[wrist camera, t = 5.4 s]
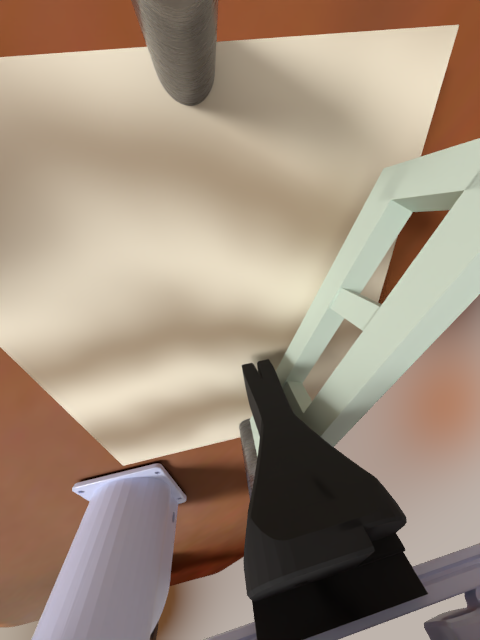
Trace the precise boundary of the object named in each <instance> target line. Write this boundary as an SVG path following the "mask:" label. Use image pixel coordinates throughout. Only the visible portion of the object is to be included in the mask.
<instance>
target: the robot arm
mask: <svg viewBox="0 0 480 640" xmlns="http://www.w3.org/2000/svg"><path fill="white" fill-rule="evenodd" d="M257 367H258V371H257V369H256V367H255V366H254V364H253V363H248V364H244V365H242V371H243V376H244V382H245V388H246V392H247V397H248V401H249V405H250V408H251V412H252V415H253V418H254V421H255V424H256V427H257V430H258V433H259V436H260V441H259V449H258V457H257V463H256V470H255V477H254V483H253V488H252V493H251V499H250V504H249V509H248V518H247V528H246V538H245V548H244V572H245V581H246V589H247V595H248V597H249V598H250V599H251V600H252V603H253V611H254V619H255V622H252V623H249V624H247V625H244V626H241V627H238V628H235V629H232V630H229V631H226V632H224V633H221V634H218V635H215V636H212V637H209V638H206V639H204V640H338V639H341V638H343V637H346V636H349V635H351V634H354V633H357V632H359V631H362V630H365V629H367V628H370V627H373V626H376V625H378V624H381V623H383V622H386V621H389V620H392V619H395V618H397V617H400V616H403V615H405V614H408V613H410V612H413V611H416V610H419V609H421V608H424V607H427V606H429V605H432V604H435V603H438V602H440V601H443V600H446V599H448V598H451V597H454V596H456V595H459V594H462V593H464V592H465V599H466V602H467V608H463V609H457V610H453V611H448V612H446V613H442V614H440V615H438V616H436V617H434V618H432V619H430V620H428V621H426V622H425V623H424V628H425V630H426V632H427V634H428V635H429V637H430V639H431V640H480V544H476V545H473V546H471V547H468V548H465V549H462V550H459V551H457V552H453V553H450V554H448V555H445V556H442V557H439V558H436V559H433V560H430V561H428V562H425V563H422V564H419V565H416V566H413V567H412V566H411V564H410V563H409V561H408V560H407V558H406V556H405V554H404V553H403V551H405V548H404V546H403V544H402V543H401V541H400V539H399V538H398V536H397V534H396V532H397V531H398V530H399V529H401V528H402V527H403V526H404V525H405V524H406V516H405V515H404V513H403V512H402V510H401V509H400V507H399V506H398V504H397V503H396V501H395V500H394V499H393V498H392V496H391V495H390V494H389V493H388V491H387V490H386V489H385V488H384V486H383V485H382V484H381V483H380V482H379V481H378V479H377V478H375V477H374V476H373V475H371V474H370V473H368V472H367V471H365V470H364V469H362V468H361V467H359V466H358V465H357V464H355V463H354V462H353V461H351V460H350V459H349V458H347V457H346V456H344V455H343V454H342V453H341V452H339V451H338V450H337V449H335V448H334V447H333V446H331V445H330V444H329V443H328V442H326V441H325V440H324V439H323V438H321V437H320V436H319V435H318V434H317V433H315V432H314V431H313V430H312V429H311V428H309V427H308V426H307V425H306V424H305V423H304V422H303V421H302V420H300V419H299V418H298V417H297V416H296V415H295V414H294V413H293V411H292V409H291V407H290V405H289V403H288V401H287V399H286V396H285V394H284V391H283V389H282V386H281V383H280V381H279V378H278V376H277V373H276V371H275V369H274V367H273V365H272V363H271V362H270V360H269V359H266V360H262V361H258V363H257ZM72 491H74V492H75V493H77V494H78V495H80V496H82V497H83V498H85V499H87V500H88V501H90V502H89V505H88V507H87V510H86V512H85V514H84V517H83V519H82V521H81V524H80V526H79V528H78V531H77V533H76V536H75V538H74V540H73V543H72V545H71V547H70V550H69V552H68V554H67V557H66V559H65V561H64V564H63V566H62V569H61V571H60V573H59V576H58V578H57V580H56V583H55V585H54V587H53V590H52V592H51V594H50V597H49V599H48V602H47V604H46V606H45V609H44V611H43V613H42V616H41V618H40V620H39V623H38V625H37V628H36V630H35V632H34V635H33V637H32V639H31V640H150V635H151V633H152V632H153V630H154V628H155V626H156V624H157V622H158V620H159V618H160V616H161V613H162V610H163V608H164V605H165V602H166V599H167V595H168V590H169V584H170V576H171V566H172V557H173V548H174V538H175V529H176V519H177V510H178V504H180V503H184V502H185V501H186V498H187V497H186V495H185V494H184V493H183V491H182V490H181V489H180V487H179V486H178V485H177V484H176V482H175V481H174V480H173V479H172V477H171V476H170V475H169V473H168V472H167V471H166V470H165V468H164V467H163V466H162V465H161V464H160V463H155V464H151V465H147V466H143V467H139V468H135V469H131V470H127V471H123V472H119V473H115V474H110V475H106V476H102V477H98V478H94V479H90V480H86V481H82V482H78V483H76V484H75V485H74V486H73V488H72Z"/></svg>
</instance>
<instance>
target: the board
mask: <svg viewBox="0 0 480 640" xmlns="http://www.w3.org/2000/svg"><path fill="white" fill-rule="evenodd" d="M458 27H459V25H449V26H435V27H421V28H407V29H393V30H379V31H365V32H350V33H336V34H322V35H308V36H294V37H280V38H266V39H252V40H238V41H224V42H216V61H215V77H214V82H213V86H212V89H211V91H210V93H209V95H208V96H207V98H206V99H205V100H204V101H203V102H201V103H200V104H197V105H194V106H187V105H183V104H181V103H179V102H177V101H176V100H174V99H173V98H172V97H171V96H170V95H169V94H168V93H167V92H166V90H165V89H164V87H163V86H162V84H161V82H160V80H159V78H158V76H157V73H156V71H155V68H154V65H153V62H152V59H151V56H150V53H149V50H148V48H147V47H139V48H125V49H111V50H97V51H83V52H69V53H54V54H40V55H26V56H12V57H0V347H1V348H2V349H3V350H4V351H5V352H6V353H7V354H8V355H9V356H10V357H11V358H12V359H13V360H14V361H15V362H16V363H17V364H19V365H20V366H21V367H22V368H23V369H24V370H25V371H26V372H27V373H28V374H29V375H30V376H31V377H32V378H33V379H34V380H35V381H36V382H37V383H38V384H39V385H40V386H41V387H42V388H43V389H44V390H45V391H46V392H47V393H49V394H50V395H51V396H52V397H53V398H54V399H55V400H56V401H57V402H58V403H59V404H60V405H61V406H62V407H63V408H64V409H65V410H66V411H67V412H68V413H69V414H70V415H71V416H72V417H73V418H74V419H75V420H76V421H77V422H79V423H80V424H81V425H82V426H83V427H84V428H85V429H86V430H87V431H88V432H89V433H90V434H91V435H92V436H93V437H94V438H95V439H96V440H97V441H98V442H99V443H100V444H101V445H102V446H103V447H104V448H105V449H106V450H107V451H108V452H110V453H111V454H112V455H113V456H114V457H115V458H116V459H117V460H118V461H119V462H120V463H121V464H122V465H123V466H124V465H128V464H132V463H136V462H140V461H144V460H148V459H152V458H156V457H161V456H165V455H169V454H173V453H177V452H181V451H185V450H189V449H193V448H198V447H202V446H206V445H210V444H214V443H218V442H222V441H226V440H230V439H234V438H239V437H240V430H239V425H240V423H241V422H242V421H244V420H246V419H250V418H251V417H252V412H251V408H250V405H249V401H248V397H247V392H246V388H245V382H244V376H243V371H242V365H244V364H248V363H253V364H254V366H255V367H256V369H257V371H258V367H257V363H258V361H262V360H266V359H269V360H270V362H271V363H272V365H273V367H274V369H275V371H276V370H277V368H278V366H279V364H280V362H281V360H282V358H283V356H284V355H285V353H286V351H287V349H288V347H289V345H290V343H291V341H292V340H293V338H294V336H295V334H296V332H297V330H298V328H299V326H300V325H301V323H302V321H303V319H304V317H305V315H306V313H307V311H308V310H309V308H310V306H311V304H312V302H313V300H314V298H315V296H316V294H317V293H318V291H319V289H320V287H321V285H322V283H323V281H324V279H325V278H326V276H327V274H328V272H329V270H330V268H331V266H332V264H333V263H334V261H335V259H336V257H337V255H338V253H339V251H340V249H341V248H342V246H343V244H344V242H345V240H346V238H347V236H348V234H349V232H350V231H351V229H352V227H353V225H354V223H355V221H356V219H357V217H358V216H359V214H360V212H361V210H362V208H363V206H364V204H365V202H366V201H367V199H368V197H369V195H370V193H371V191H372V189H373V187H374V185H375V184H376V182H377V180H378V178H379V176H380V174H381V172H382V170H383V169H384V168H386V167H389V166H393V165H396V164H399V163H402V162H405V161H409V160H412V159H415V158H418V157H421V154H422V150H423V147H424V144H425V140H426V137H427V133H428V130H429V126H430V123H431V120H432V116H433V113H434V109H435V106H436V102H437V99H438V96H439V92H440V89H441V85H442V82H443V78H444V75H445V72H446V68H447V65H448V61H449V58H450V54H451V51H452V48H453V44H454V41H455V37H456V34H457V30H458ZM396 239H397V237H396ZM396 239H395V241H394V242H393V244H392V245H391V247H390V248H389V250H388V251H387V253H386V255H385V256H384V258H383V259H382V261H381V262H380V264H379V265H378V267H377V268H376V270H375V272H374V273H373V275H372V276H371V278H370V279H369V281H368V282H367V284H366V286H365V287H364V289H363V290H362V292H361V293H360V294H361V295H363V296H365V297H367V298H369V299H371V300H373V301H376V302H378V301H379V298H380V294H381V291H382V287H383V284H384V281H385V277H386V274H387V270H388V267H389V263H390V260H391V257H392V253H393V250H394V246H395V243H396ZM362 332H363V331H362V330H361V329H359V328H358V327H356V326H355V325H354V324H352V323H351V322H349V321H348V320H346V319H345V318H344V320H343V321H342V323H341V324H340V326H339V327H338V329H337V331H336V332H335V334H334V335H333V337H332V338H331V340H330V341H329V343H328V344H327V346H326V348H325V349H324V351H323V352H322V354H321V355H320V357H319V358H318V360H317V362H316V363H315V365H314V366H313V368H312V369H311V371H310V372H309V374H308V376H307V377H306V379H305V380H304V382H303V383H302V384H303V386H304V388H305V389H306V391H307V393H308V395H309V396H310V398H311V400H312V401H313V399H314V398H315V397H316V395H317V394H318V393H319V391H320V390H321V388H322V387H323V386H324V384H325V383H326V381H327V380H328V379H329V377H330V376H331V375H332V373H333V372H334V370H335V369H336V368H337V366H338V365H339V363H340V362H341V361H342V359H343V358H344V357H345V355H346V354H347V352H348V351H349V350H350V348H351V347H352V345H353V344H354V343H355V341H356V340H357V338H358V337H359V336H360V334H361V333H362Z"/></svg>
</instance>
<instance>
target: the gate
mask: <svg viewBox="0 0 480 640" xmlns="http://www.w3.org/2000/svg"><path fill="white" fill-rule="evenodd" d="M442 210H450V211H449V212H448V214H447V215H446V216H445V218H444V219H443V221H442V222H441V223H440V225H439V226H438V228H437V229H436V230H435V232H434V233H433V234H432V236H431V237H430V239H429V240H428V241H427V243H426V244H425V246H424V247H423V248H422V250H421V251H420V253H419V254H418V255H417V257H416V258H415V259H414V261H413V262H412V264H411V265H410V266H409V268H408V269H407V271H406V272H405V273H404V275H403V276H402V277H401V279H400V280H399V282H398V283H397V284H396V286H395V287H394V289H393V290H392V291H391V293H390V294H389V296H388V297H387V298H386V300H385V301H384V302H383V304H380V303H378V302H376V301H373V300H371V299H369V298H367V297H365V296H363V295H361V294H360V293H361V292H362V290H363V289H364V287H365V286H366V284H367V282H368V281H369V279H370V278H371V276H372V275H373V273H374V272H375V270H376V268H377V267H378V265H379V264H380V262H381V261H382V259H383V258H384V256H385V255H386V253H387V251H388V250H389V248H390V247H391V245H392V244H393V242H394V241H395V239H396V237H397V236H398V234H399V233H400V231H401V230H402V228H403V227H404V225H405V223H406V222H407V220H408V219H409V217H410V216H411V214H412V213H413V212H423V211H442ZM479 294H480V138H479V139H476V140H473V141H470V142H466V143H463V144H460V145H457V146H454V147H450V148H447V149H444V150H441V151H438V152H434V153H431V154H428V155H425V156H422V157H418V158H415V159H412V160H409V161H405V162H402V163H399V164H396V165H393V166H389V167H386V168H384V169H383V170H382V172H381V174H380V176H379V178H378V180H377V182H376V184H375V185H374V187H373V189H372V191H371V193H370V195H369V197H368V199H367V201H366V202H365V204H364V206H363V208H362V210H361V212H360V214H359V216H358V217H357V219H356V221H355V223H354V225H353V227H352V229H351V231H350V232H349V234H348V236H347V238H346V240H345V242H344V244H343V246H342V248H341V249H340V251H339V253H338V255H337V257H336V259H335V261H334V263H333V264H332V266H331V268H330V270H329V272H328V274H327V276H326V278H325V279H324V281H323V283H322V285H321V287H320V289H319V291H318V293H317V294H316V296H315V298H314V300H313V302H312V304H311V306H310V308H309V310H308V311H307V313H306V315H305V317H304V319H303V321H302V323H301V325H300V326H299V328H298V330H297V332H296V334H295V336H294V338H293V340H292V341H291V343H290V345H289V347H288V349H287V351H286V353H285V355H284V356H283V358H282V360H281V362H280V364H279V366H278V368H277V370H276V373H277V376H278V378H279V381H280V383H281V386H282V389H283V391H284V394H285V396H286V399H287V401H288V403H289V405H290V407H291V409H292V411H293V413H294V414H295V415H296V416H297V417H298V418H299V419H300V420H302V421H303V422H304V423H305V424H306V425H307V426H308V427H309V428H311V429H312V430H313V431H314V432H315V433H317V434H318V435H319V436H320V437H321V438H323V439H324V440H325V441H326V442H328V443H329V444H330V445H331V446H333V447H334V446H335V445H336V444H337V443H338V442H339V440H341V439H342V438H343V437H344V436H345V434H346V433H347V432H348V431H349V430H350V429H351V428H352V427H353V426H354V425H355V424H356V423H357V422H358V421H359V420H360V419H361V418H362V417H363V416H364V415H365V413H366V412H367V411H368V410H369V409H370V408H371V407H372V406H373V405H374V404H375V403H376V402H377V401H378V400H379V399H380V398H381V397H382V395H384V394H385V393H386V391H387V390H388V389H389V388H390V387H391V386H392V385H393V384H394V383H395V382H396V381H397V380H398V379H399V378H400V377H401V376H402V375H403V374H404V373H405V371H407V370H408V368H409V367H410V366H411V365H412V364H413V363H414V362H415V361H416V360H417V359H418V358H419V357H420V356H421V355H422V354H423V353H424V352H425V351H426V350H427V349H428V348H429V347H430V345H431V344H432V343H433V342H434V341H435V340H436V339H437V338H438V337H439V336H440V335H441V334H442V333H443V332H444V331H445V330H446V329H447V328H448V327H449V325H451V323H452V322H453V321H454V320H455V319H456V318H457V317H458V316H459V315H460V314H461V313H462V312H463V311H464V310H465V309H466V308H467V307H468V306H469V305H470V304H471V303H472V301H473V300H474V299H475V298H476V297H477V296H478V295H479ZM344 318H345V319H346V320H348V321H349V322H351V323H352V324H354V325H355V326H356V327H358V328H359V329H361V330H362V331H363V332H362V333H361V334H360V336H359V337H358V338H357V340H356V341H355V343H354V344H353V345H352V347H351V348H350V350H349V351H348V352H347V354H346V355H345V357H344V358H343V359H342V361H341V362H340V363H339V365H338V366H337V368H336V369H335V370H334V372H333V373H332V375H331V376H330V377H329V379H328V380H327V381H326V383H325V384H324V386H323V387H322V388H321V390H320V391H319V393H318V394H317V395H316V397H315V398H314V399H313V401H312V400H311V398H310V396H309V395H308V393H307V391H306V389H305V388H304V386H303V384H302V383H303V382H304V380H305V379H306V377H307V376H308V374H309V372H310V371H311V369H312V368H313V366H314V365H315V363H316V362H317V360H318V358H319V357H320V355H321V354H322V352H323V351H324V349H325V348H326V346H327V344H328V343H329V341H330V340H331V338H332V337H333V335H334V334H335V332H336V331H337V329H338V327H339V326H340V324H341V323H342V321H343V320H344ZM250 424H251V429H252V434H253V439H254V443H255V448H256V453H257V457H258V449H259V441H260V436H259V433H258V430H257V427H256V424H255V421H254V418H253V415H252V417H251V418H250Z"/></svg>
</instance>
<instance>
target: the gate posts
mask: <svg viewBox="0 0 480 640" xmlns="http://www.w3.org/2000/svg"><path fill="white" fill-rule="evenodd" d="M131 1H132V4H133V7H134V10H135V13H136V16H137V19H138V21H139V24H140V27H141V30H142V33H143V36H144V39H145V42H146V45H147V48H148V50H149V53H150V56H151V59H152V62H153V65H154V68H155V71H156V73H157V76H158V78H159V80H160V82H161V84H162V86H163V87H164V89H165V90H166V92H167V93H168V94H169V95H170V96H171V97H172V98H173V99H174V100H176V101H177V102H179V103H181V104H183V105H187V106H194V105H197V104H200V103H201V102H203V101H204V100H205V99H206V98H207V96H208V95H209V93H210V91H211V89H212V86H213V82H214V77H215V61H216V40H217V18H218V0H131ZM239 430H240V437H241V444H242V450H243V457H244V463H245V470H246V477H247V483H248V490H249V496H250V499H251V493H252V488H253V483H254V477H255V470H256V463H257V453H256V448H255V443H254V439H253V434H252V429H251V424H250V419H246V420H244V421H242V422H241V423H240V425H239Z"/></svg>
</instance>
